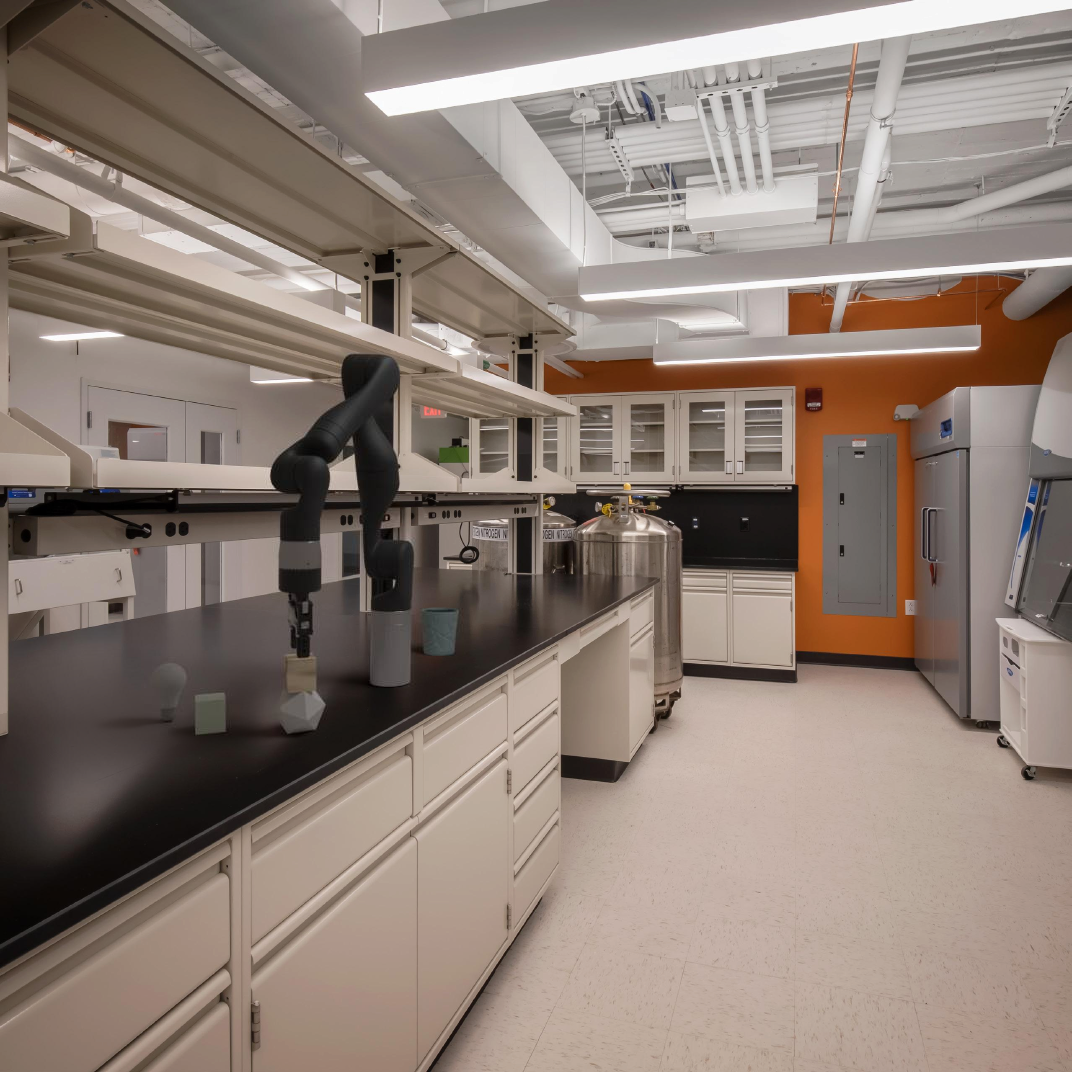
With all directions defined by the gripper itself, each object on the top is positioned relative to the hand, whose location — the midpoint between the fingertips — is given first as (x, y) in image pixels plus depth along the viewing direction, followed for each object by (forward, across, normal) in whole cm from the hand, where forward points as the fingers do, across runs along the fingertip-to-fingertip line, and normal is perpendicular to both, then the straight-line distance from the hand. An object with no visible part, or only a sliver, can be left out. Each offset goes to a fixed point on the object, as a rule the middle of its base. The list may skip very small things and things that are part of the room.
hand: (299, 652), depth 137 cm
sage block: (+14, +6, +15) cm, 22 cm away
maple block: (+7, 0, 0) cm, 7 cm away
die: (+14, 0, 0) cm, 15 cm away
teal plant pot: (+15, +56, -45) cm, 73 cm away
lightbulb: (+14, +14, +22) cm, 30 cm away
